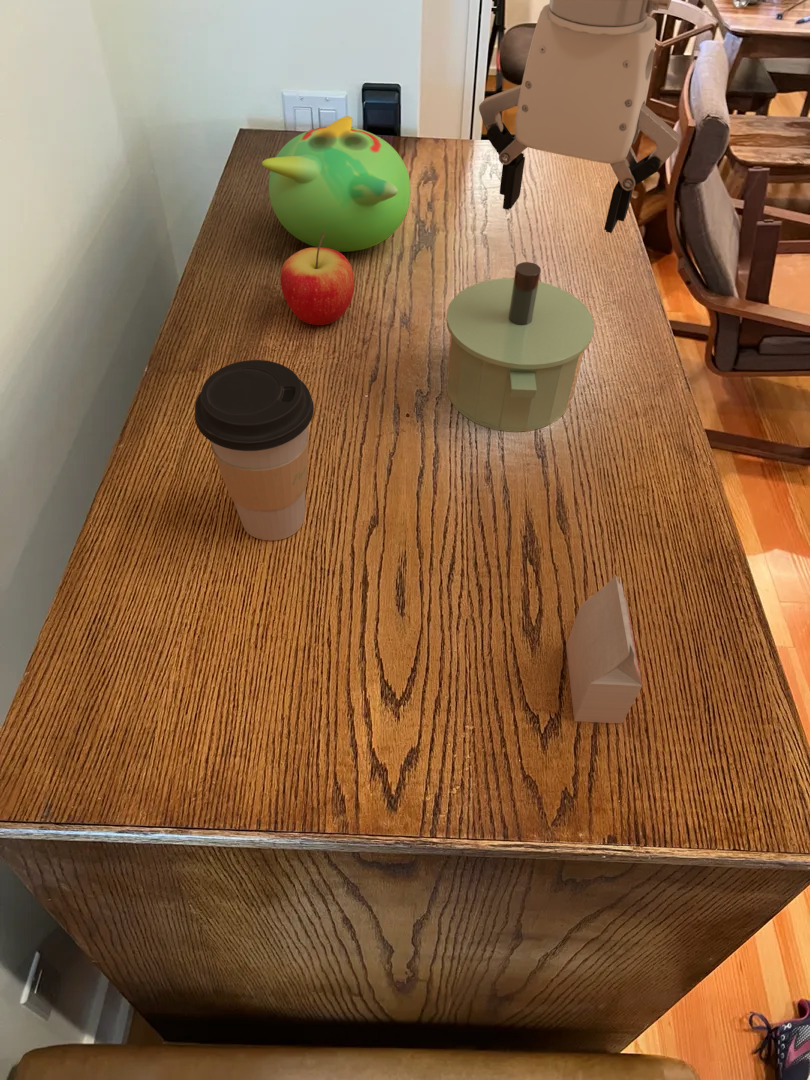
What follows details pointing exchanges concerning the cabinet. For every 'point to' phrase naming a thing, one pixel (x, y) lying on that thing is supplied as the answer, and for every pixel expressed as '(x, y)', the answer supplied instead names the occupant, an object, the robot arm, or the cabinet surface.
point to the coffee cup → (260, 442)
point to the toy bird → (339, 187)
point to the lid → (520, 321)
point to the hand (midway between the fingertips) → (560, 214)
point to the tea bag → (603, 658)
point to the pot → (509, 391)
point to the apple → (317, 284)
